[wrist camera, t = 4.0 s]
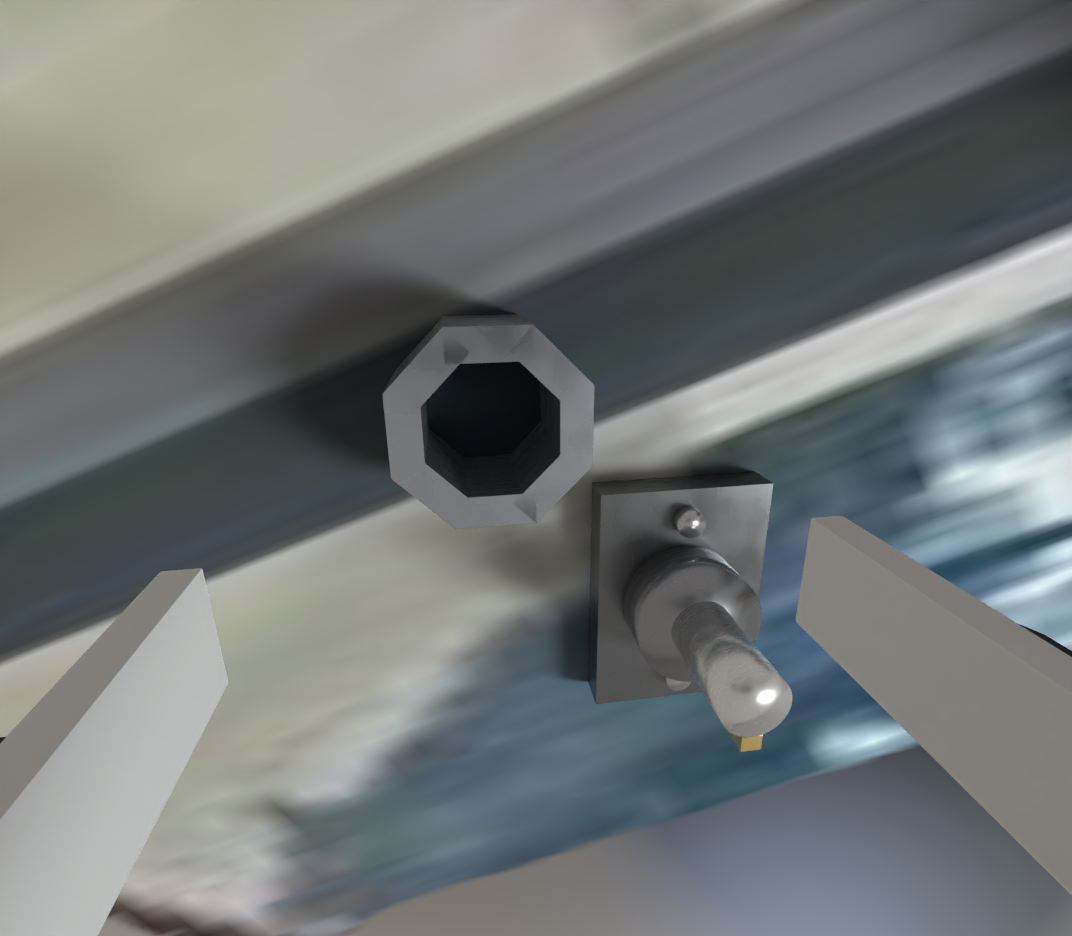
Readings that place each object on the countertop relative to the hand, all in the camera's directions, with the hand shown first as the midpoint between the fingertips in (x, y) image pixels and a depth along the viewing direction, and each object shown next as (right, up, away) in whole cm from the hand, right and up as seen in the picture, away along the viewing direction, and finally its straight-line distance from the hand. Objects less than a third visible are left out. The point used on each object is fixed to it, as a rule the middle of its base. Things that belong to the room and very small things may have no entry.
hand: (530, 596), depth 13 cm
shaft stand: (+8, -4, +24) cm, 25 cm away
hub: (-3, +6, +18) cm, 19 cm away
